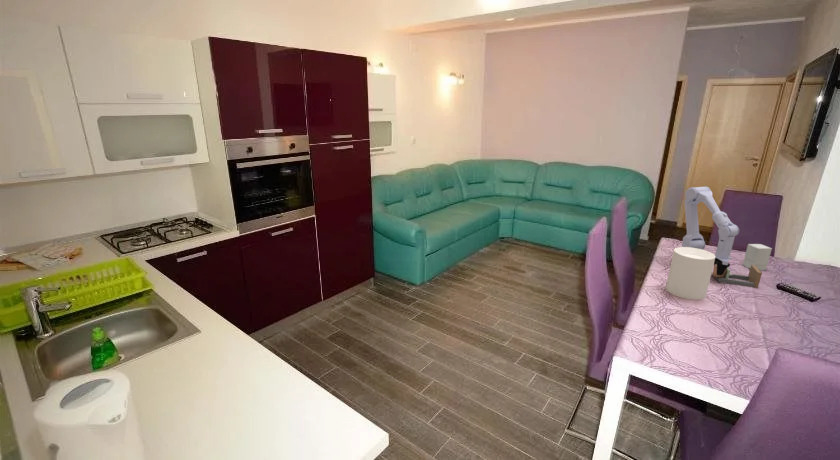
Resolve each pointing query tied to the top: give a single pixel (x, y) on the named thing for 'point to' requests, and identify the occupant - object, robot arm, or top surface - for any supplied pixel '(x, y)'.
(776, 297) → the top surface
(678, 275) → the canister
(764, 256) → the supplement box
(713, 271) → the terracotta jar
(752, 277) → the pusher lane
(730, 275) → the pusher paddle
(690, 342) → the top surface
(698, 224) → the robot arm
